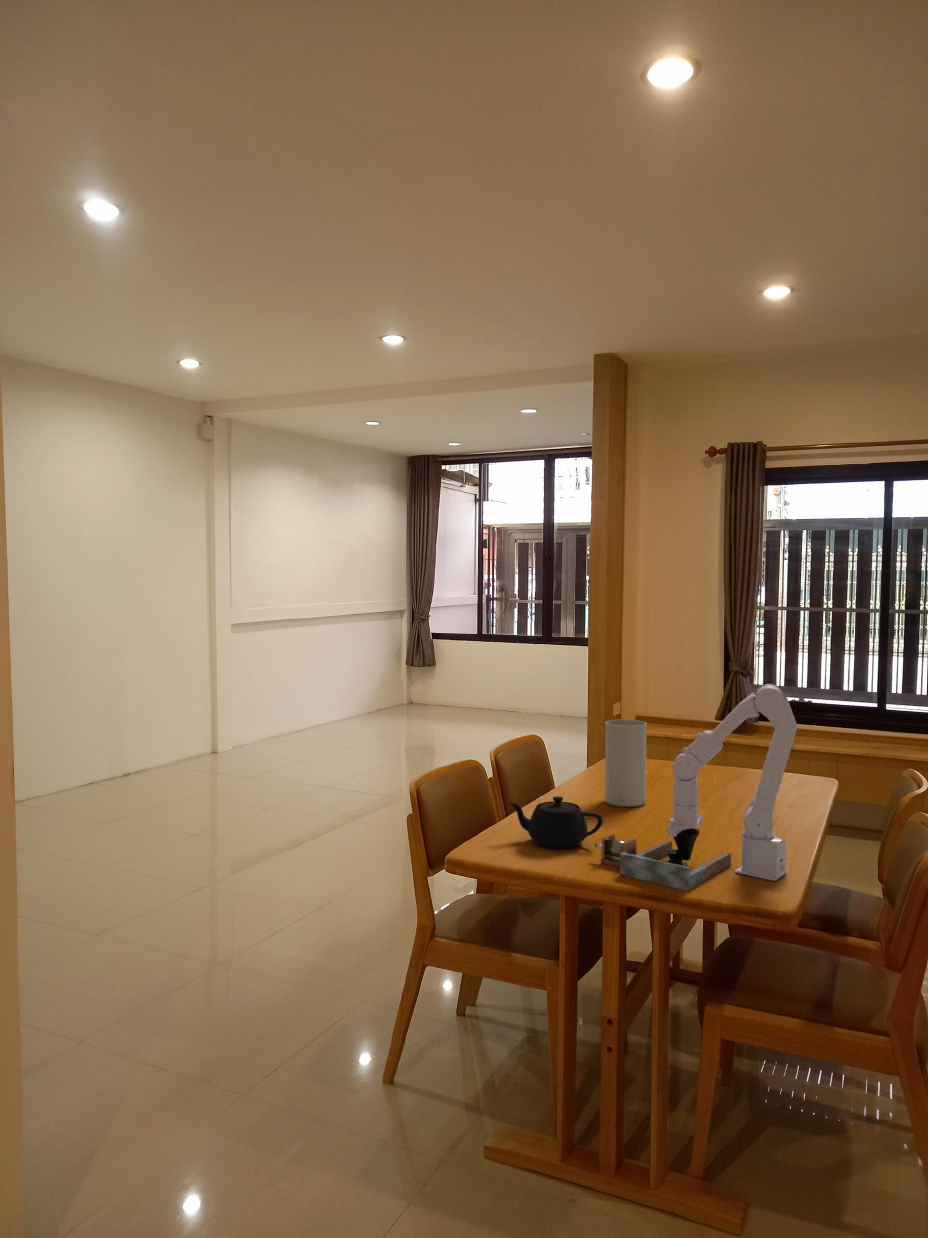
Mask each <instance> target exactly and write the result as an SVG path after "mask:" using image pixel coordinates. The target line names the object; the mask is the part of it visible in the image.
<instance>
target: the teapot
mask: <svg viewBox="0 0 928 1238" xmlns="http://www.w3.org/2000/svg"><path fill="white" fill-rule="evenodd" d="M563 800H564V797H563V796H559V795H558V796H556V795H555V796H553V797H552V801H543V802H540V803H538V804H536V806H535V807H534V810H533V811H532V813H531V816H530V818H528V817H526V816H525V814H524V811H523V809H522V807H521V805H520V804H518V803H514V802H513V803H511V802H508V805H510V806H511V807H513V808H514V810H515V811H516V814H517V818H518V821H519V825H520V826H521V828H522V829H524V830H525V831H526V832H528V834H529V836H530V838H531V839H532V840H533V841H534V842H535V843H536V844H537V845H539V846H542V847H544V848H549V849H558V850H560V849H561V850H562V849H571V848H574V847H577V846H580V844H581V843H582V842H583V841H584V840H585V839H587V837H590V836H591V835H593V834H595V833H597V832H598V831H599V830H600V828H601V827H602V826H603V823H604V821H603V820H604V819H603V816H602V815H601V814H600V813H596V812H589V811H582V809H581V807H580V806H579V805H578V804H576V803H573V802H568V801H563ZM585 817H593V818H596V819H597V822H596V825H595V826H594V828H593V829H591V830H590V831H589V827H588V824H587V821H586V818H585Z"/></svg>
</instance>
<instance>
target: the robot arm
mask: <svg viewBox="0 0 928 1238" xmlns="http://www.w3.org/2000/svg"><path fill="white" fill-rule="evenodd" d="M760 714H762V715H763V716H764V717H766V718H767V719H768V721H769V723H770V724H771V725H772V727H773V728H774V732H773V734H772V738H771V741H770V744H769V748H768V751H767V754H766V758H765V761H764V764H763V767H762V771H761V775H760V778H759V781H758V783H757V788H756V791H755V794H754V796H753V799H752V801H751V803H749V805H747V807H746V808H745V811H744V821H743V826H744V829H743V830H742V833H741V866H740V867H738V868H737V869H735V871H734V872H735V873H737V874H741V875H745V876H750V877H753V878H759V879H763V880H768V881H773V882H775V881H777V880H779V879H780V878H781V877H784V875H786V874H787V873H788V870H787V844H786V840H783V839H782V838H780V837H776V836H775V835H776V834H775V832H774V831H773V828H774V825H773V824H774V823H773V817H774V816H773V812H774V810H775V804H776V799H777V796H778V793H779V789H780V787H781V783H782V780H783V776H784V773H785V770H786V766H787V763H788V760H789V757H790V754H791V751H792V747H793V744H794V740H795V737H796V734H797V730H798V724H797V722H796V718H795V716H794V713H793V710H792V707H791V705H790V703H789V699H788V697H787V695H785V693H784V692H783V691H782V689H781V688H780V687H778V686H777V685H775V684H772V683H766V684H765V683H764V684H762V685H761V686H759V687H758V688H757V689H756V692H754V691H753V692H752V693H750V694H749V695H747V696H746V697H745V698H744V699H743V700H742V701H740V702H739V703H738V704H737V705H736V706H735V707H734V708H733V710H731V712H729V713H728V715H727V716H726V717H725V718H724V719H722V721H721V722H719V724H718V725H717V726H716V727H715V728H714V729H712V730H704V731H703V732H702V733H701V732H700V731H699V732H698V733H697V734H696V735H695V737H696V738H695V740H694V741H692V742H691V743H689V745H688V746H687V747H684V746H683V748H682V749H681V751H682V753H679V754H677V756H676V757H675V759H674V761H673V764H672V771H673V774H674V776H673V781H674V783H673V791H672V792H673V794H672V795H673V796H672V797H673V798H672V800H673V807H672V810H673V811H672V812H673V813H672V814H673V816H672V818H669V819H668V823H670V825H669V826H667V836H670V837H673V839H674V841H675V844H676V847H677V848H676V849H680V850H681V851H682V859H683V861H685V862H689V861H690V860H691V858H692V855H693V849H694V846H695V844H696V840H697V838H698V836H699V835H700V831H701V830H700V829H697V827H699V825H703V816H702V815H698V813H699V811H698V809H699V808H698V807H699V785H698V772H699V769H700V767H704V766H706V764H707V763H709V762H710V760H712V759H713V758H714V756H716V755H717V754H718V753H719V752H720V751H721V750H723V747H724V746H723V741H724V740H725V739H726V738H727V737H728V736H729V735H730V734H731V733H733V732H734V731H735V730H736V729H737V728H738V727H739V726H740V725H741V724H742V723H743V722H745V720H747V719H751V718H752V719H753V718H757V717H760Z"/></svg>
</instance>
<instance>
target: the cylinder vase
mask: <svg viewBox="0 0 928 1238" xmlns="http://www.w3.org/2000/svg"><path fill="white" fill-rule="evenodd" d="M604 725H605V726H604V727H605V731H604V733H605V735H604V737H605V738H604V739H605V743H604V745H605V746H604V748H605V751H604V752H605V753H604V757H605V758H604V760H605V761H604V762H605V763H604V765H605V766H604V773H605V774H604V796H605V797H604V800H605V802H606V804H608V805H611V806H614V807H619V808H620V807H622V808H635V807H641V806H644V805H645V804H647V803H646V802H647V722H645V721H643V720H636V719H611V720H606V721H605V724H604Z"/></svg>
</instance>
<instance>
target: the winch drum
mask: <svg viewBox="0 0 928 1238" xmlns="http://www.w3.org/2000/svg"><path fill="white" fill-rule="evenodd" d="M600 841H601V844H600V843H594V848H596V849H600V851H601V852H600V853H601V855H600V856H601V857H600V863H601V864H605V865H608V866H613V867H618V868H620V858H621V853H622V852H623V853H628V854H632V855H636V854H637V838H631V839H629V840H628V841H627V840H626V841H623V840H619V839H616V834H614V833H610V834H609V835H607V836H604V837H602V838H601V839H600Z"/></svg>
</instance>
